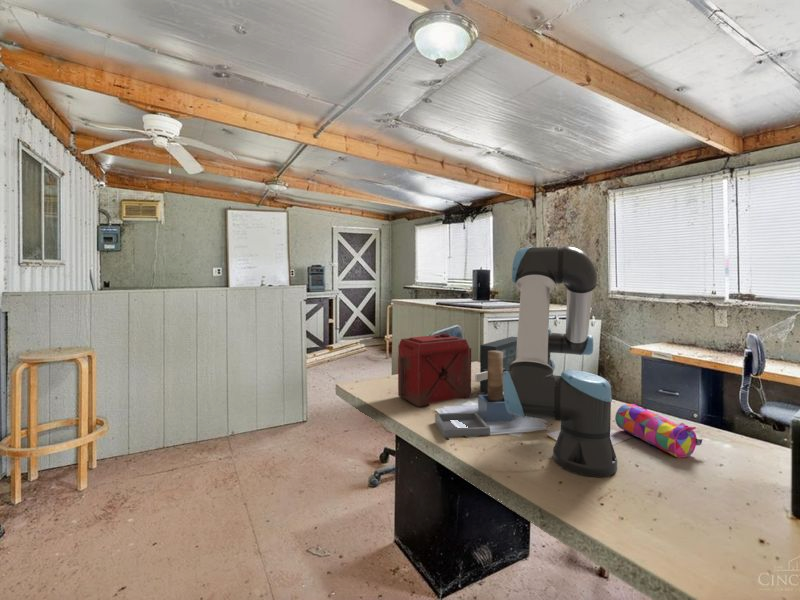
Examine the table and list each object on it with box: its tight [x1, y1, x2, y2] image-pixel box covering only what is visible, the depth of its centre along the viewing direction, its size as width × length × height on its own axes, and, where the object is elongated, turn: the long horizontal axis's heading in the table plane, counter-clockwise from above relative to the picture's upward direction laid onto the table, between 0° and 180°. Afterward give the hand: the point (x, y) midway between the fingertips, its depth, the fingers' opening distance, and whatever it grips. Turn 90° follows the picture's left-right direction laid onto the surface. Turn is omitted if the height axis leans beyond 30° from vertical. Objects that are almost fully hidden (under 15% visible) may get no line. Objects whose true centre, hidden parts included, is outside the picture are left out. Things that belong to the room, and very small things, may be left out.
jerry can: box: [397, 333, 472, 408], centre depth 155 cm, size 30×16×25 cm, turn 118°
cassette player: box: [479, 336, 517, 394], centre depth 172 cm, size 29×7×20 cm, turn 138°
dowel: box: [487, 351, 504, 402], centre depth 132 cm, size 5×5×22 cm
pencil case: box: [614, 403, 703, 459], centre depth 113 cm, size 22×9×9 cm, turn 16°
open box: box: [477, 393, 514, 422], centre depth 133 cm, size 9×9×7 cm
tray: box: [434, 411, 491, 441], centre depth 124 cm, size 14×14×3 cm
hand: (492, 382), depth 132 cm, fingers open, 13 cm apart
